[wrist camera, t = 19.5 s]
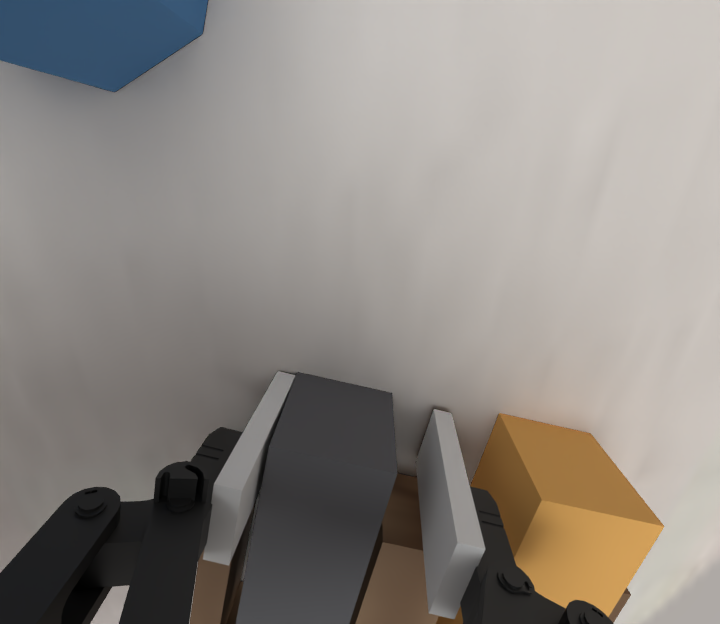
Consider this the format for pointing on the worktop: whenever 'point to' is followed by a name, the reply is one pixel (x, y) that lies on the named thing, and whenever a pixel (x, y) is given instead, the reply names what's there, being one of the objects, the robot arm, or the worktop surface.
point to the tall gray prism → (319, 504)
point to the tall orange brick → (565, 512)
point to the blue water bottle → (97, 36)
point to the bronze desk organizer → (381, 581)
